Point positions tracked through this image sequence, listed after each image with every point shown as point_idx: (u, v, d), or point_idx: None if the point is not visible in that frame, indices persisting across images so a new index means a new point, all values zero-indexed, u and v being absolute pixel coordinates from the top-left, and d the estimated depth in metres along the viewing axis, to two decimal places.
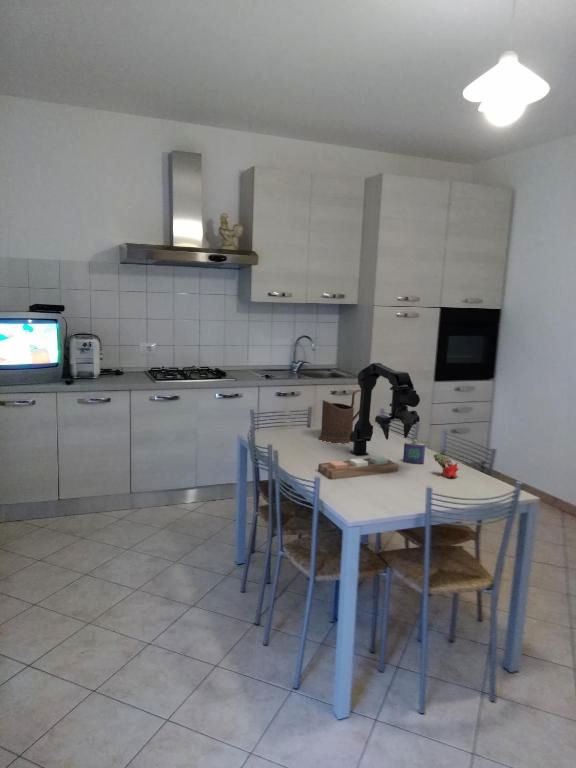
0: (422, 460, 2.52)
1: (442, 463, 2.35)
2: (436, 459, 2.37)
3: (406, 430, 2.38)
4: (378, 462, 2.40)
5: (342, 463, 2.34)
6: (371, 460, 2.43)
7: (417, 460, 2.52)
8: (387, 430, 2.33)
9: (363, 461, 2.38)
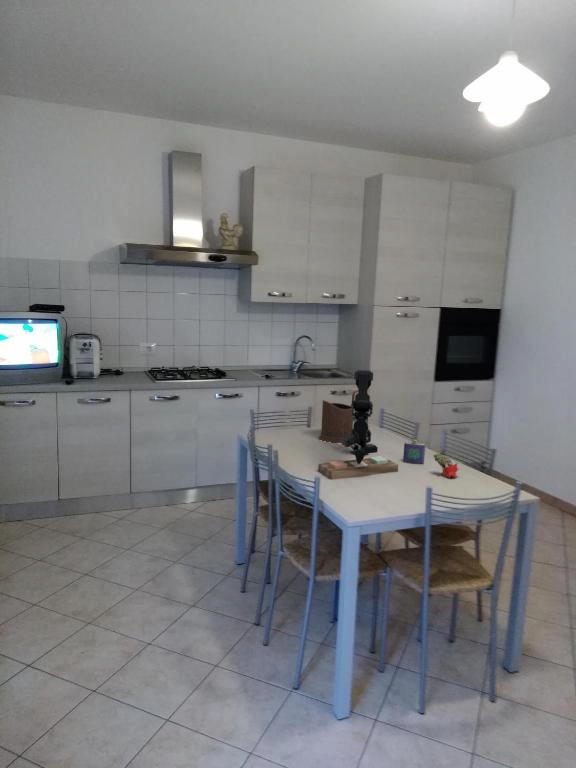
0: (422, 460, 2.52)
1: (442, 463, 2.35)
2: (436, 459, 2.37)
3: None
4: (378, 462, 2.40)
5: (342, 463, 2.34)
6: (371, 460, 2.43)
7: (417, 460, 2.52)
8: (355, 453, 2.39)
9: (363, 464, 2.38)
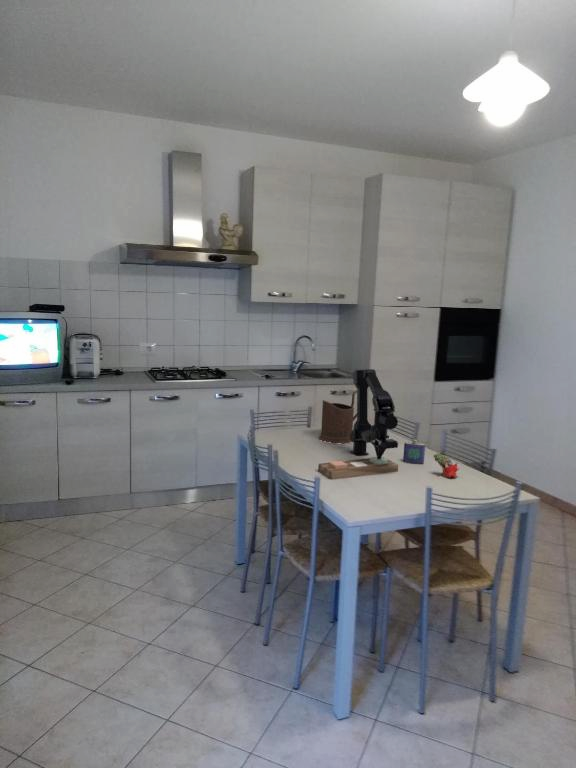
0: (422, 460, 2.52)
1: (442, 463, 2.35)
2: (436, 459, 2.37)
3: None
4: (378, 462, 2.40)
5: (342, 463, 2.34)
6: (371, 460, 2.43)
7: (417, 460, 2.52)
8: (375, 448, 2.43)
9: (363, 464, 2.38)
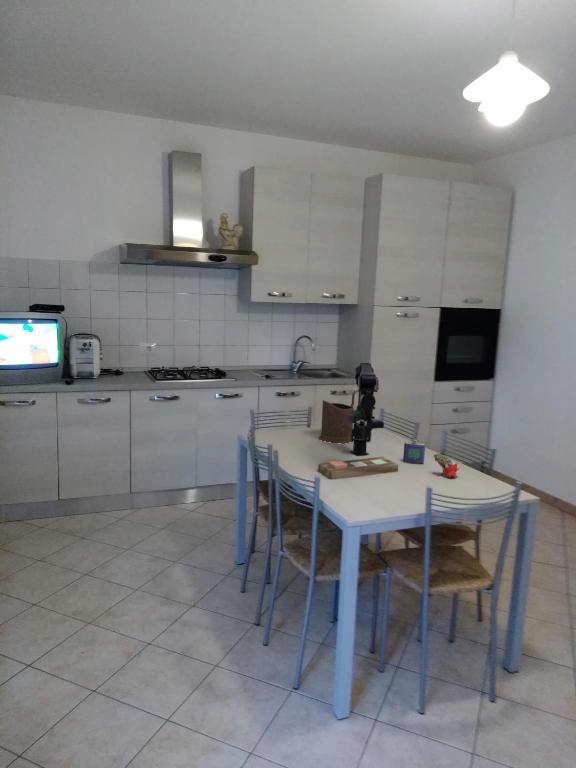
0: (422, 460, 2.52)
1: (442, 463, 2.35)
2: (436, 459, 2.37)
3: None
4: None
5: (342, 463, 2.34)
6: None
7: (417, 460, 2.52)
8: (360, 430, 2.38)
9: (363, 464, 2.38)
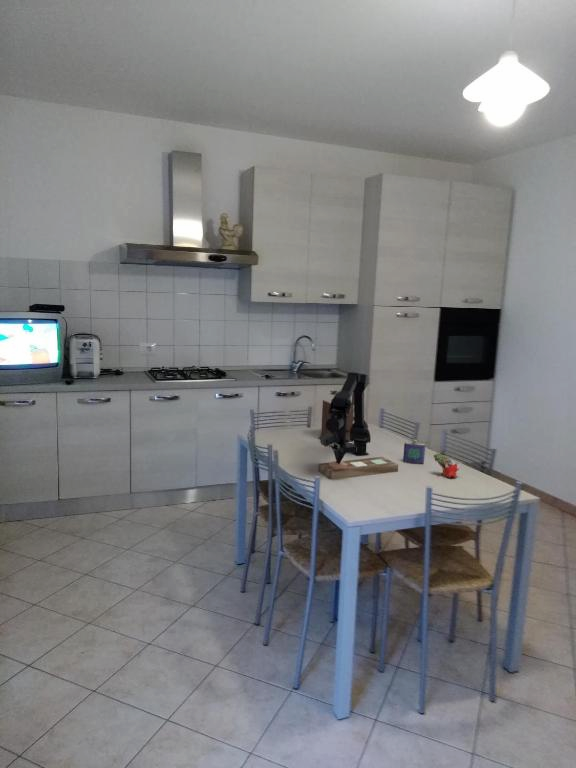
0: (422, 460, 2.52)
1: (442, 463, 2.35)
2: (436, 459, 2.37)
3: None
4: None
5: (342, 463, 2.35)
6: None
7: (417, 460, 2.52)
8: (334, 452, 2.35)
9: (363, 464, 2.38)
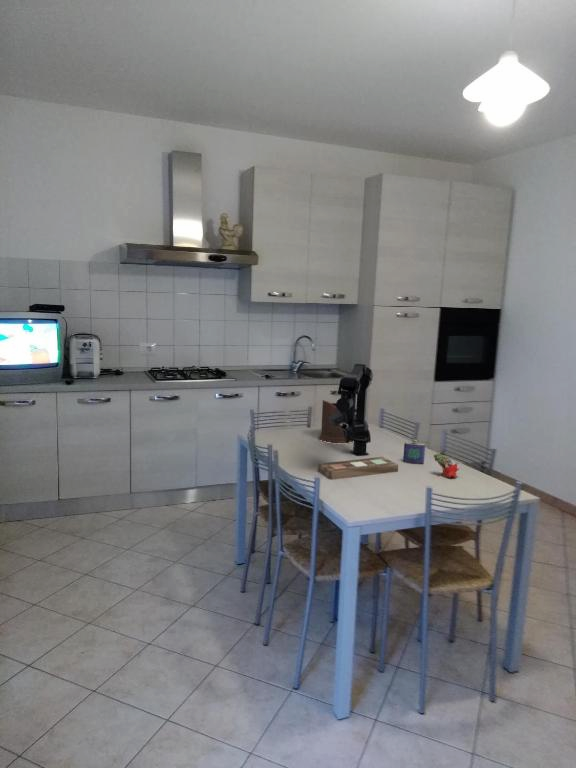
0: (422, 460, 2.52)
1: (442, 463, 2.35)
2: (436, 459, 2.37)
3: None
4: None
5: (342, 466, 2.35)
6: None
7: (417, 460, 2.52)
8: (343, 432, 2.39)
9: (363, 464, 2.38)
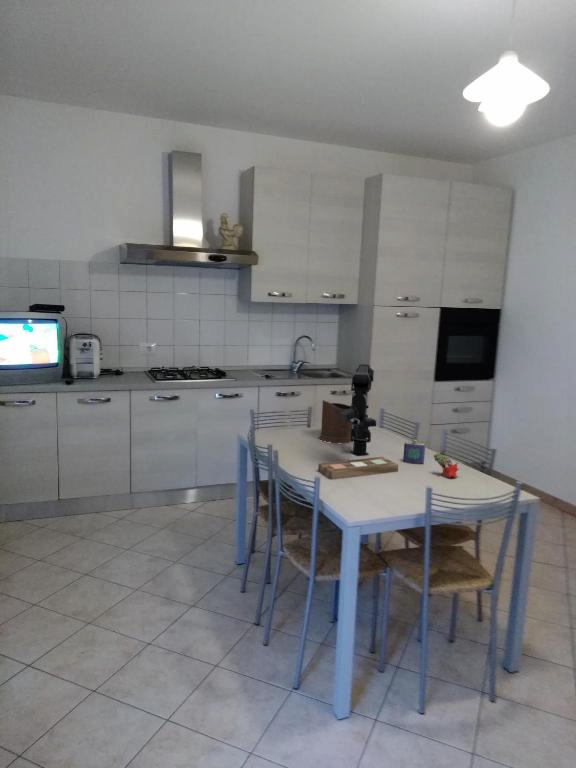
0: (422, 460, 2.52)
1: (442, 463, 2.35)
2: (436, 459, 2.37)
3: None
4: None
5: (342, 466, 2.35)
6: None
7: (417, 460, 2.52)
8: (354, 428, 2.46)
9: (363, 464, 2.38)
